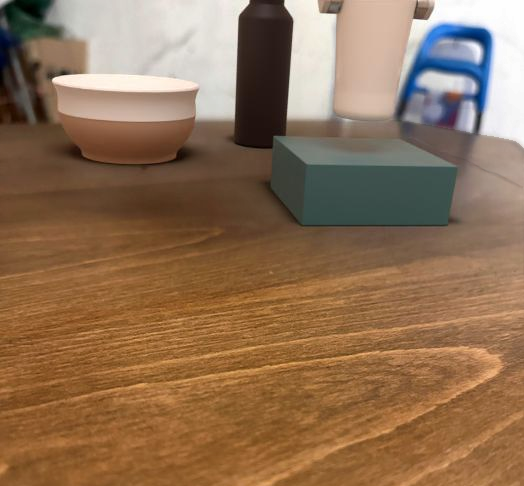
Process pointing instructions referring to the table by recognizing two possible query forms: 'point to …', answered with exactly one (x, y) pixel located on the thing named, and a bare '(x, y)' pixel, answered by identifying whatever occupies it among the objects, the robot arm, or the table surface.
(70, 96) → the bowl
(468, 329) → the table surface
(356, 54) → the drinking glass
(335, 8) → the robot arm
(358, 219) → the stand
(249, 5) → the bottle
